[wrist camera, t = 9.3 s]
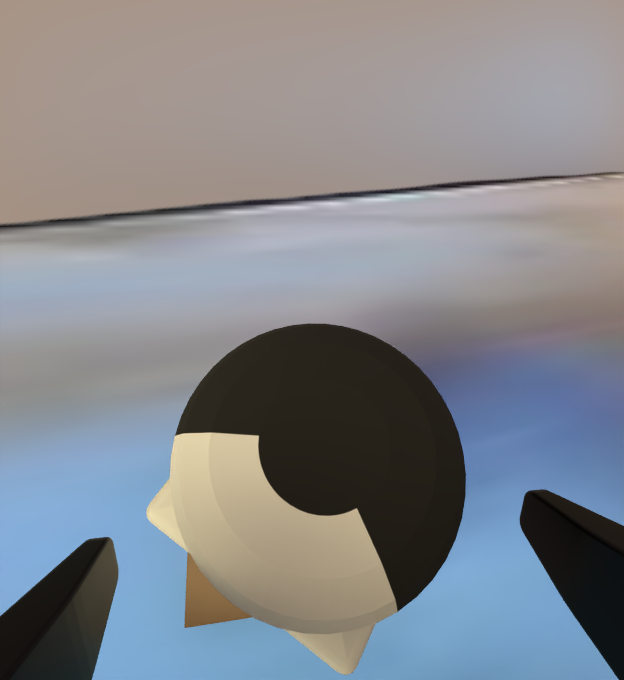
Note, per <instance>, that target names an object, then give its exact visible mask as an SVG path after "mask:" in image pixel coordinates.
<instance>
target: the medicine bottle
mask: <svg viewBox="0 0 624 680" xmlns="http://www.w3.org/2000/svg"><path fill="white" fill-rule="evenodd" d="M465 484H466V473H465V464H464V455H463V450H462V446H461V442H460V438H459V434H458V431H457V428H456V426H455V423H454V420H453V418H452V415H451V413H450V411H449V409H448V407H447V405H446V404H445V402H444V400H443V398H442V396H441V395H440V393H439V392H438V391H437V389H436V388H435V386H434V385H433V383H432V382H431V381H430V380H429V378H428V377H427V376H426V375H425V374H424V373H423V372H422V370H421V369H420V368H419V367H418V366H417V365H415V364H414V363H413V362H412V361H411V360H410V359H409V358H408V357H406V356H405V355H404V354H403V353H401V352H400V351H398V350H397V349H395V348H394V347H393V346H391V345H389V344H388V343H386V342H384V341H382V340H380V339H378V338H376V337H374V336H372V335H369V334H367V333H364V332H361V331H359V330H355V329H351V328H347V327H343V326H337V325H330V324H301V325H292V326H287V327H283V328H279V329H274V330H272V331H269V332H266V333H264V334H261V335H258V336H256V337H254V338H252V339H251V340H249V341H247V342H245V343H243V344H241V345H240V346H238V347H237V348H235V349H234V350H233V351H231V352H230V353H228V354H227V355H226V356H225V357H224V358H223V359H221V360H220V361H219V362H218V363H217V364H216V365H215V366H214V367H213V368H212V369H211V370H210V371H209V372H208V374H207V375H206V376H205V377H204V378H203V379H202V381H201V382H200V384H199V385H198V387H197V388H196V390H195V391H194V393H193V394H192V396H191V397H190V399H189V401H188V403H187V406H186V408H185V410H184V412H183V414H182V416H181V419H180V422H179V425H178V428H177V431H176V434H175V438H174V444H173V449H172V455H171V469H170V478H169V480H168V481H167V482H166V483H165V485H164V486H163V487H162V489H161V490H160V491H159V492H158V494H157V495H156V496H155V497H154V499H153V500H152V501H151V502H150V504H149V506H148V508H147V517H148V519H149V520H150V522H151V523H152V524H153V525H155V526H156V527H157V528H158V529H160V530H161V531H162V532H163V533H165V534H166V535H167V536H168V537H170V538H171V539H172V540H173V541H175V542H176V543H177V544H178V545H180V546H181V547H182V548H183V549H185V550H186V551H187V552H188V553H190V554H191V556H192V558H193V560H194V561H195V563H196V565H197V566H198V568H199V570H200V571H201V572H202V573H203V574H204V576H205V577H206V578H207V579H208V581H209V582H210V583H211V584H212V585H213V587H214V588H215V589H216V590H217V591H218V592H220V593H221V594H222V595H223V596H224V597H225V598H226V599H227V600H229V601H230V602H231V603H232V604H233V605H234V606H236V607H238V608H239V609H241V610H242V611H244V612H246V613H247V614H249V615H250V616H252V617H254V618H255V619H258V620H260V621H263V622H265V623H268V624H270V625H272V626H275V627H277V628H281V629H284V630H286V631H287V632H288V633H289V634H291V635H292V636H293V637H294V638H296V639H297V640H298V641H299V642H301V643H302V644H303V645H304V646H306V647H307V648H308V649H309V650H311V651H312V652H313V653H314V654H316V655H317V656H318V657H319V658H321V659H322V660H323V661H324V662H326V663H327V664H328V665H329V666H331V667H332V668H333V669H334V670H336V671H337V672H339V673H341V674H344V675H347V674H350V673H352V672H353V671H354V670H355V669H356V667H357V665H358V663H359V660H360V658H361V656H362V654H363V651H364V649H365V647H366V644H367V642H368V640H369V637H370V635H371V633H372V630H373V628H374V626H375V623H377V622H379V621H381V620H383V619H385V618H387V617H389V616H390V615H392V614H394V613H396V612H398V611H399V610H400V609H402V608H403V607H404V606H406V605H407V604H408V603H409V602H411V601H412V600H413V599H415V598H416V597H417V596H418V595H419V594H420V593H421V592H422V591H423V589H424V588H425V587H426V586H427V585H428V584H429V583H430V582H431V581H432V580H433V578H434V577H435V575H436V574H437V572H438V571H439V569H440V568H441V566H442V565H443V563H444V562H445V560H446V558H447V556H448V554H449V552H450V550H451V548H452V546H453V543H454V541H455V539H456V536H457V532H458V529H459V526H460V522H461V519H462V514H463V508H464V501H465Z"/></svg>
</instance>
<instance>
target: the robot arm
mask: <svg viewBox="0 0 624 680" xmlns="http://www.w3.org/2000/svg"><path fill="white" fill-rule="evenodd" d="M520 525H521V528H522V531H523V533H524V534H525V536H526V538H527V539H528V541H529V543H530V545H531V546H532V548H533V550H534V551H535V553H536V555H537V556H538V558H539V560H540V561H541V563H542V565H543V567H544V568H545V570H546V572H547V573H548V575H549V577H550V578H551V580H552V582H553V584H554V585H555V587H556V589H557V590H558V592H559V593H560V595H561V597H562V598H563V600H564V601H565V603H566V604H567V606H568V607H569V609H570V610H571V612H572V613H573V615H574V616H575V618H576V619H577V621H578V622H579V623H580V625H581V626H582V628H583V629H584V631H585V632H586V633H587V635H588V636H589V638H590V639H591V641H592V642H593V643H594V645H595V646H596V648H597V649H598V651H599V652H600V653H601V655H602V656H603V658H604V659H605V661H606V662H607V663H608V665H609V666H610V668H611V669H612V671H613V672H614V674H615V675H616V676H617V678H618V679H619V680H624V526H623V525H620V524H618V523H616V522H614V521H612V520H610V519H608V518H605V517H603V516H601V515H599V514H597V513H595V512H593V511H591V510H588V509H586V508H584V507H582V506H580V505H578V504H576V503H573V502H571V501H569V500H567V499H565V498H563V497H561V496H559V495H556V494H554V493H552V492H550V491H548V490H544V489H540V490H531V491H528V492H527V493H526V494H525V496H524V501H523V505H522V510H521V515H520ZM117 581H118V564H117V559H116V554H115V549H114V544H113V541H112V539H111V538H109V537H103V538H94V539H89V540H87V541H85V542H84V543H83V544H82V545H80V546H79V547H78V548H77V549H76V550H75V551H74V552H72V553H71V554H70V555H69V556H68V557H67V558H66V559H65V560H63V561H62V562H61V563H60V564H59V565H58V566H57V567H55V568H54V569H53V570H52V571H51V572H50V573H49V574H48V575H46V576H45V577H44V578H43V579H42V580H41V581H40V582H38V583H37V584H36V585H35V586H34V587H33V588H32V589H31V590H29V591H28V592H27V593H26V594H25V595H24V596H23V597H21V598H20V599H19V600H18V601H17V602H16V603H15V604H14V605H12V606H11V607H10V608H9V609H8V610H7V611H6V612H4V613H3V614H2V615H1V616H0V680H92V677H93V673H94V670H95V666H96V662H97V659H98V655H99V651H100V647H101V643H102V639H103V635H104V632H105V628H106V624H107V620H108V616H109V612H110V608H111V605H112V601H113V597H114V593H115V589H116V585H117Z"/></svg>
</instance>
